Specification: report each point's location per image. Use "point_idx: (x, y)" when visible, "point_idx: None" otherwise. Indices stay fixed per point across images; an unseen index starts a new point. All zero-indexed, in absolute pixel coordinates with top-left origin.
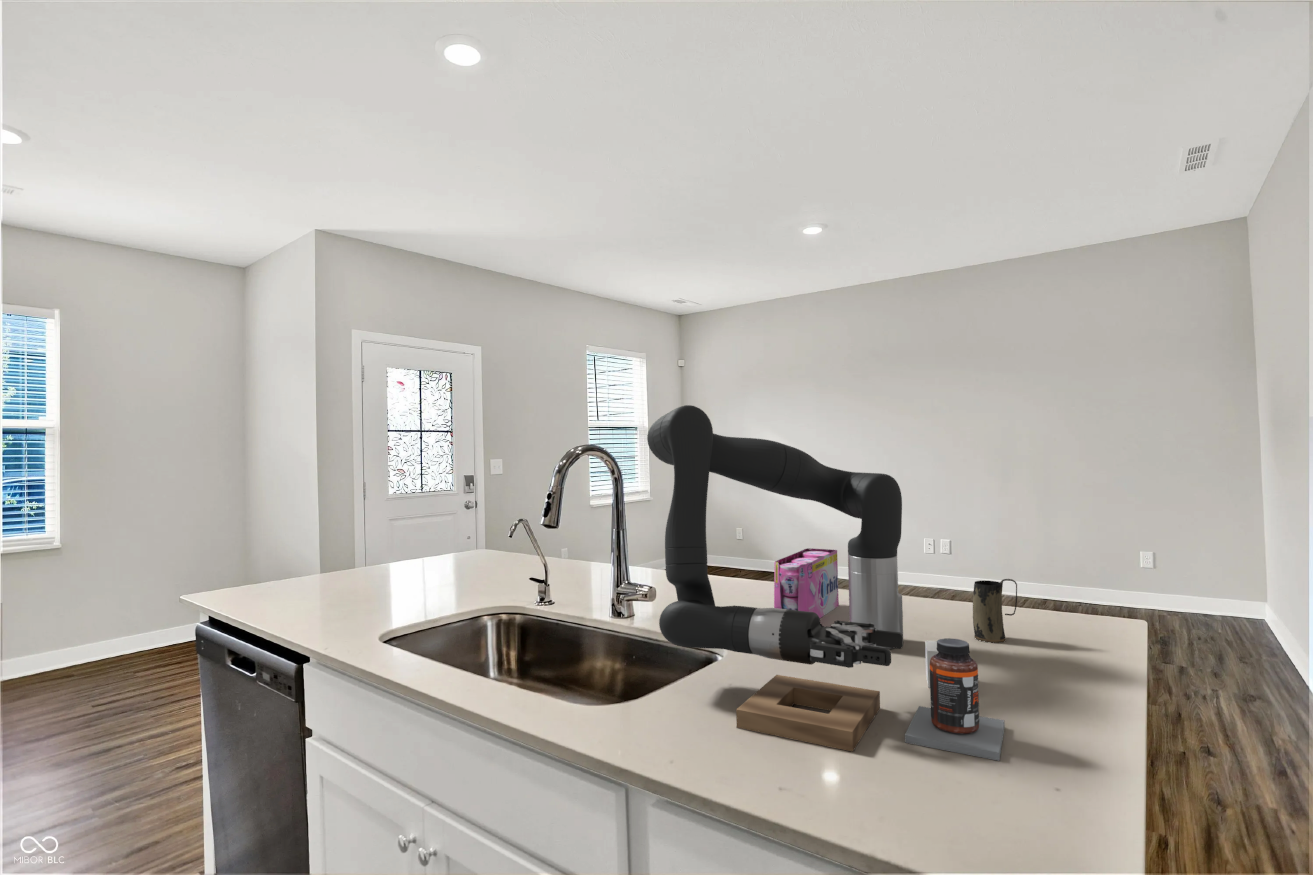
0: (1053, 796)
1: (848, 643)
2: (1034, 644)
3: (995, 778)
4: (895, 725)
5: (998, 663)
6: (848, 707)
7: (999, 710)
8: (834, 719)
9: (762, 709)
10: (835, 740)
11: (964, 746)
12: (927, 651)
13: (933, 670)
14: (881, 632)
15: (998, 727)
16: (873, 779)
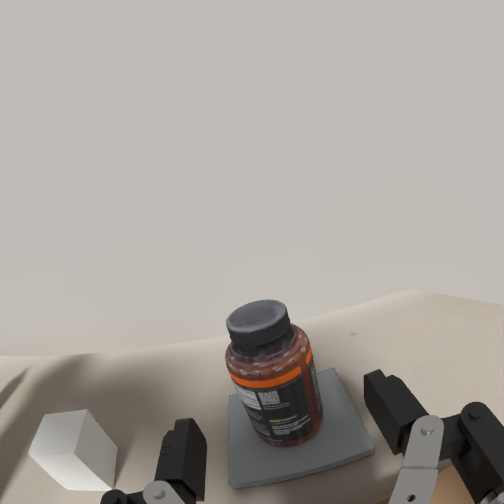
0: (368, 330)
1: (434, 454)
2: (4, 396)
3: (378, 359)
4: (316, 496)
5: (36, 421)
6: None
7: (176, 416)
8: (462, 500)
9: None
10: None
11: (346, 392)
12: (75, 454)
13: (302, 368)
14: (185, 464)
15: None
16: (493, 398)
